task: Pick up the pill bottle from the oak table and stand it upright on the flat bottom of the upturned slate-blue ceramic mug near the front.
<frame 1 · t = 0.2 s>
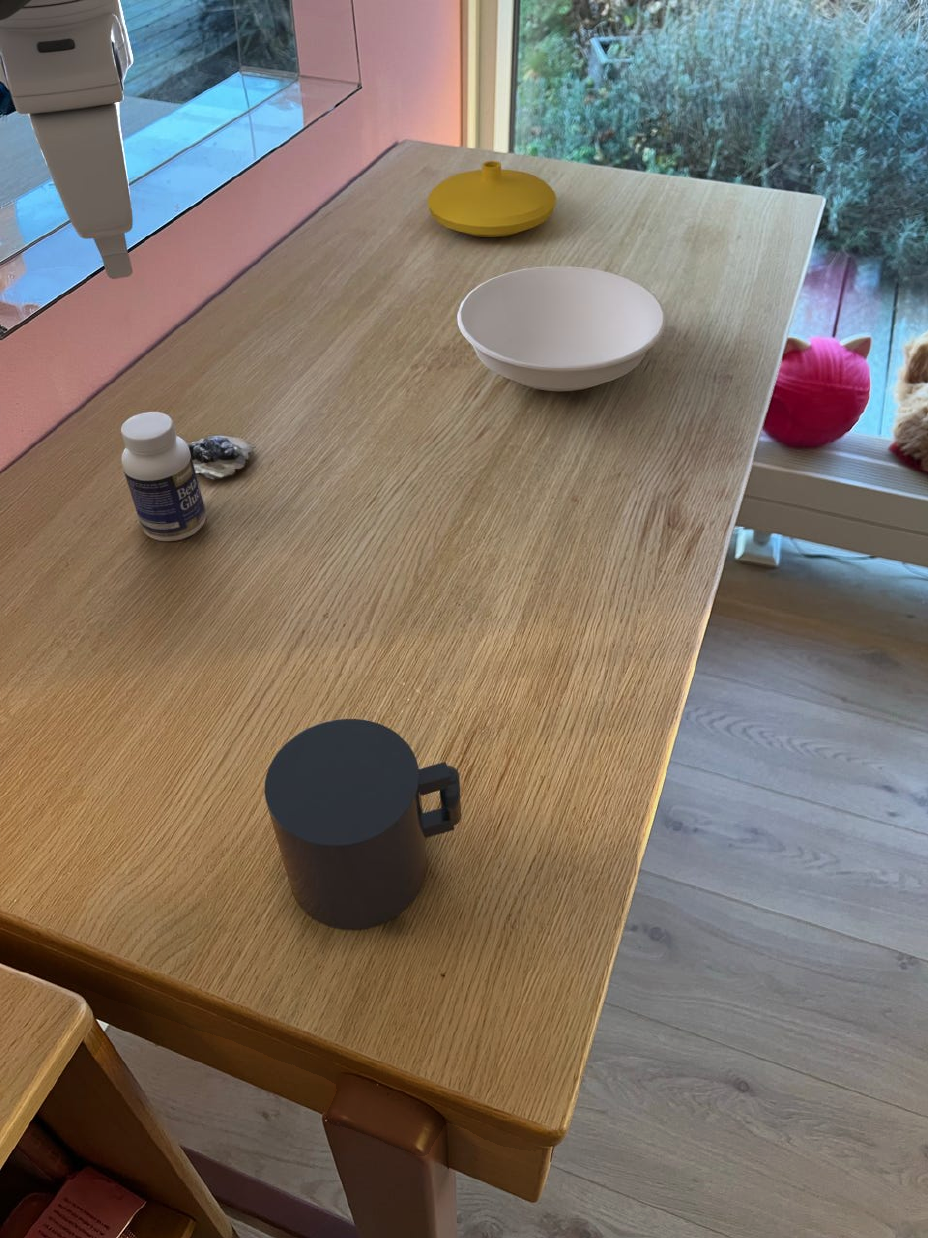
hand: (115, 246, 75), 21 cm above the table, tool pointing down, fingers open, 8 cm apart
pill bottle: (175, 524, 85), on the table
mug: (358, 866, 61), on the table
bowl: (558, 373, 100), on the table
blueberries: (210, 461, 91), on the table
vase: (492, 224, 124), on the table
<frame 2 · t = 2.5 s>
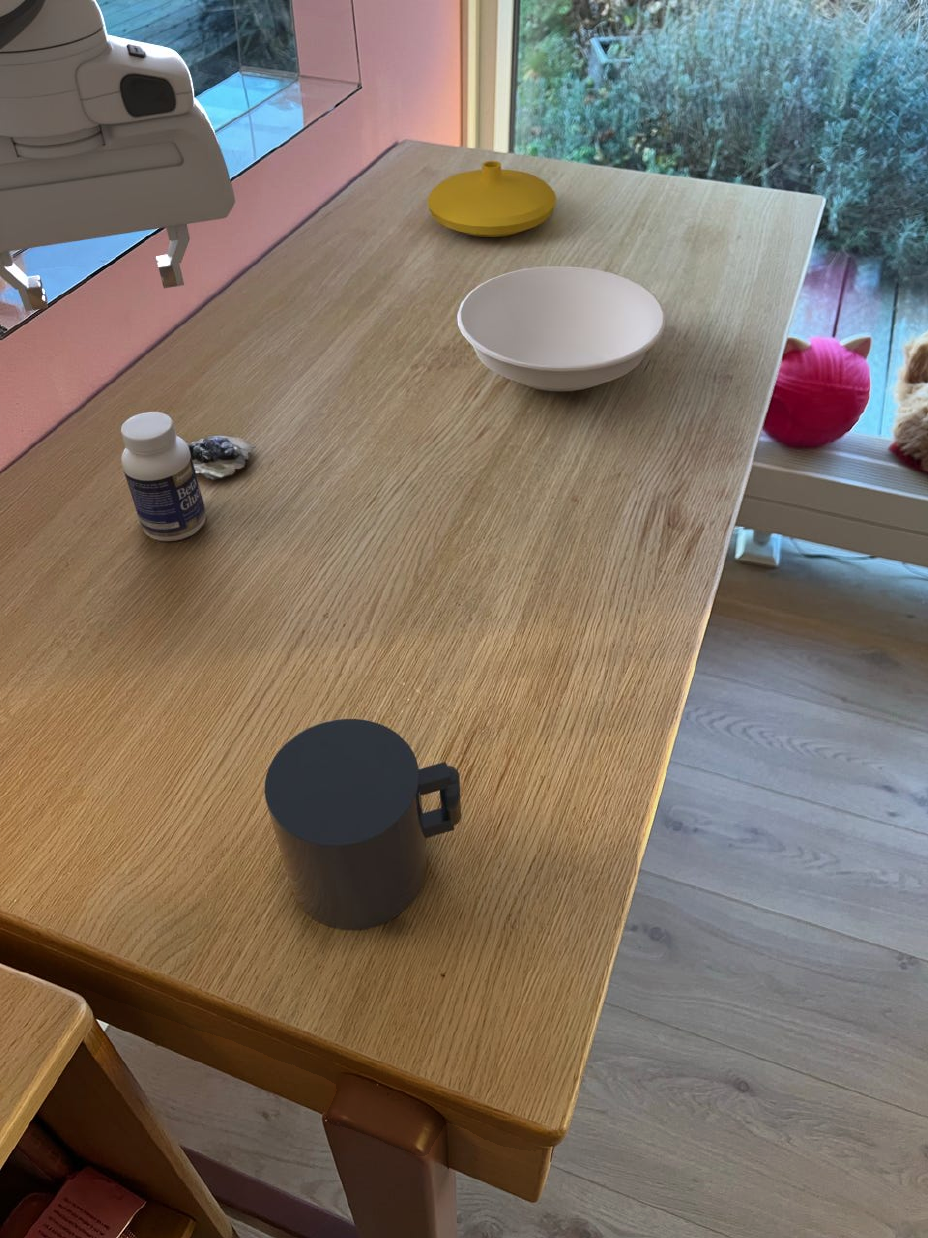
hand: (106, 294, 71), 20 cm above the table, tool pointing down, fingers open, 8 cm apart
nothing on the table moved.
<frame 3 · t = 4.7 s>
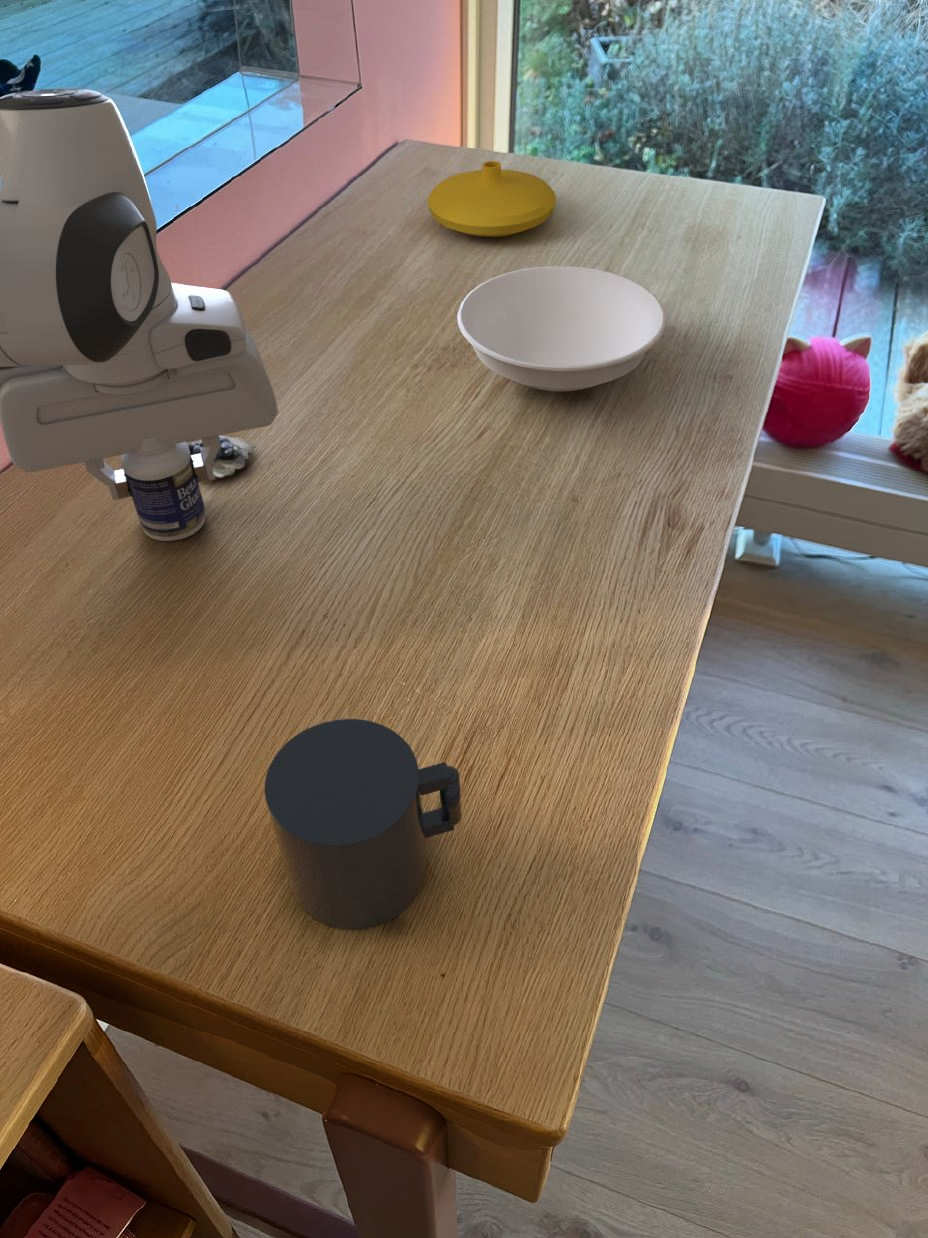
hand: (164, 485, 82), 4 cm above the table, tool pointing down, fingers closed on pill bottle, 5 cm apart
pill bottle: (175, 524, 85), on the table, touching gripper
everything else where it was.
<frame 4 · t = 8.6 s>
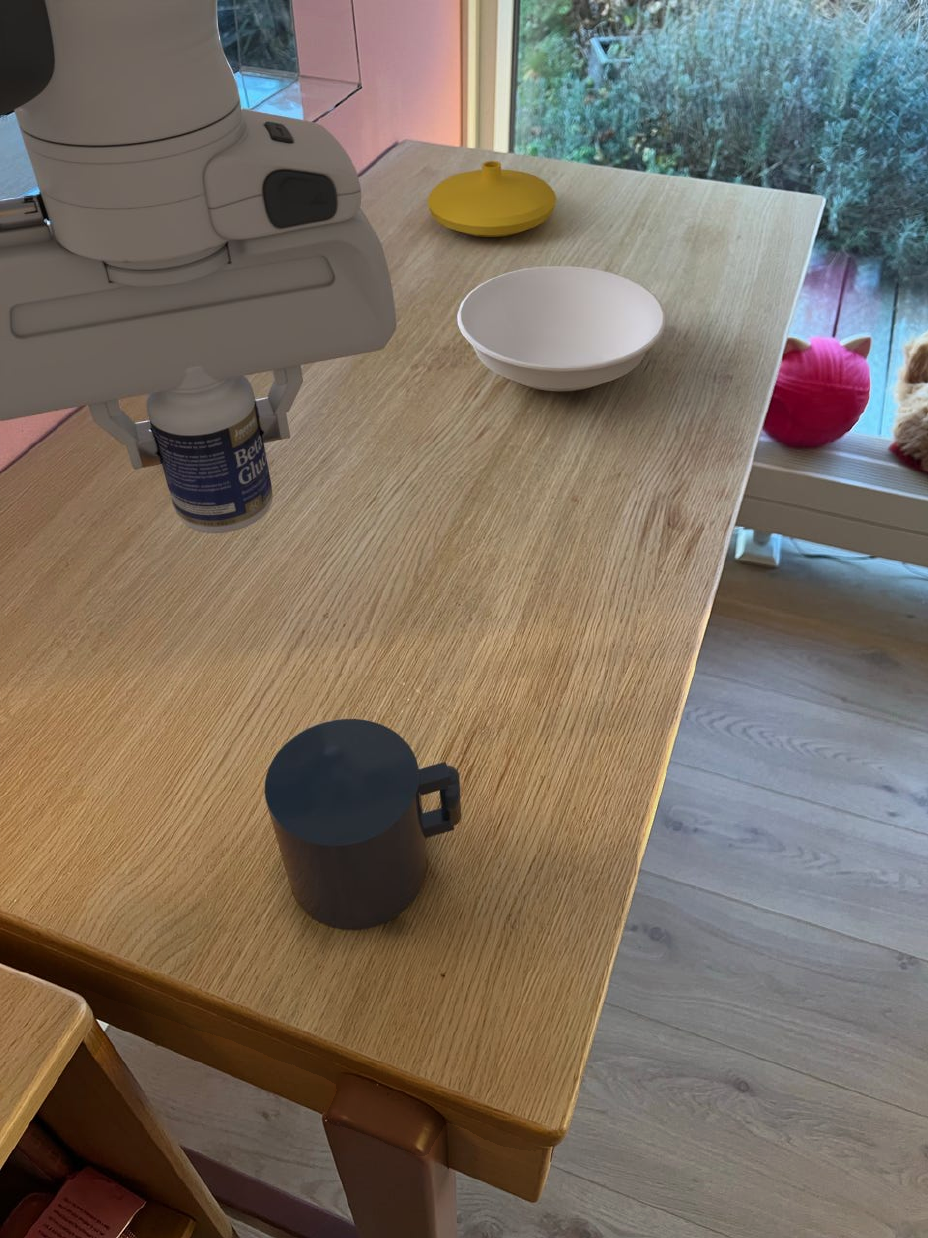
hand: (212, 447, 52), 23 cm above the table, tool pointing down, fingers closed on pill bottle, 5 cm apart
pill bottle: (226, 508, 55), point 19 cm above the table, touching gripper
everything else where it was.
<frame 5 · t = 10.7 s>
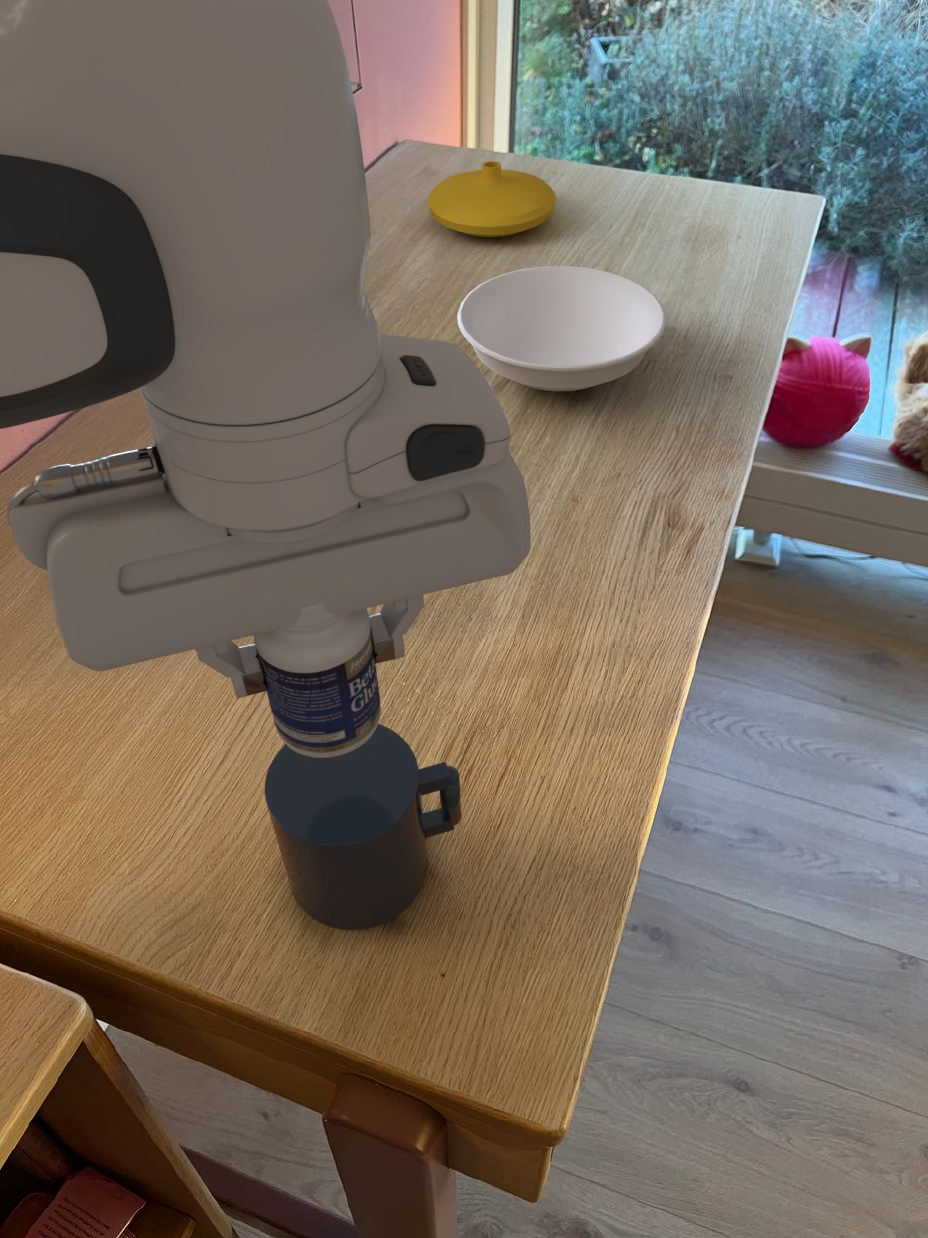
hand: (320, 668, 48), 18 cm above the table, tool pointing down, fingers closed on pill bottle, 5 cm apart
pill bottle: (330, 721, 51), point 14 cm above the table, touching gripper
everything else where it was.
when the fingers open (13 cm above the table, at t = 12.5 s): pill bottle stays where it is, resting on mug.
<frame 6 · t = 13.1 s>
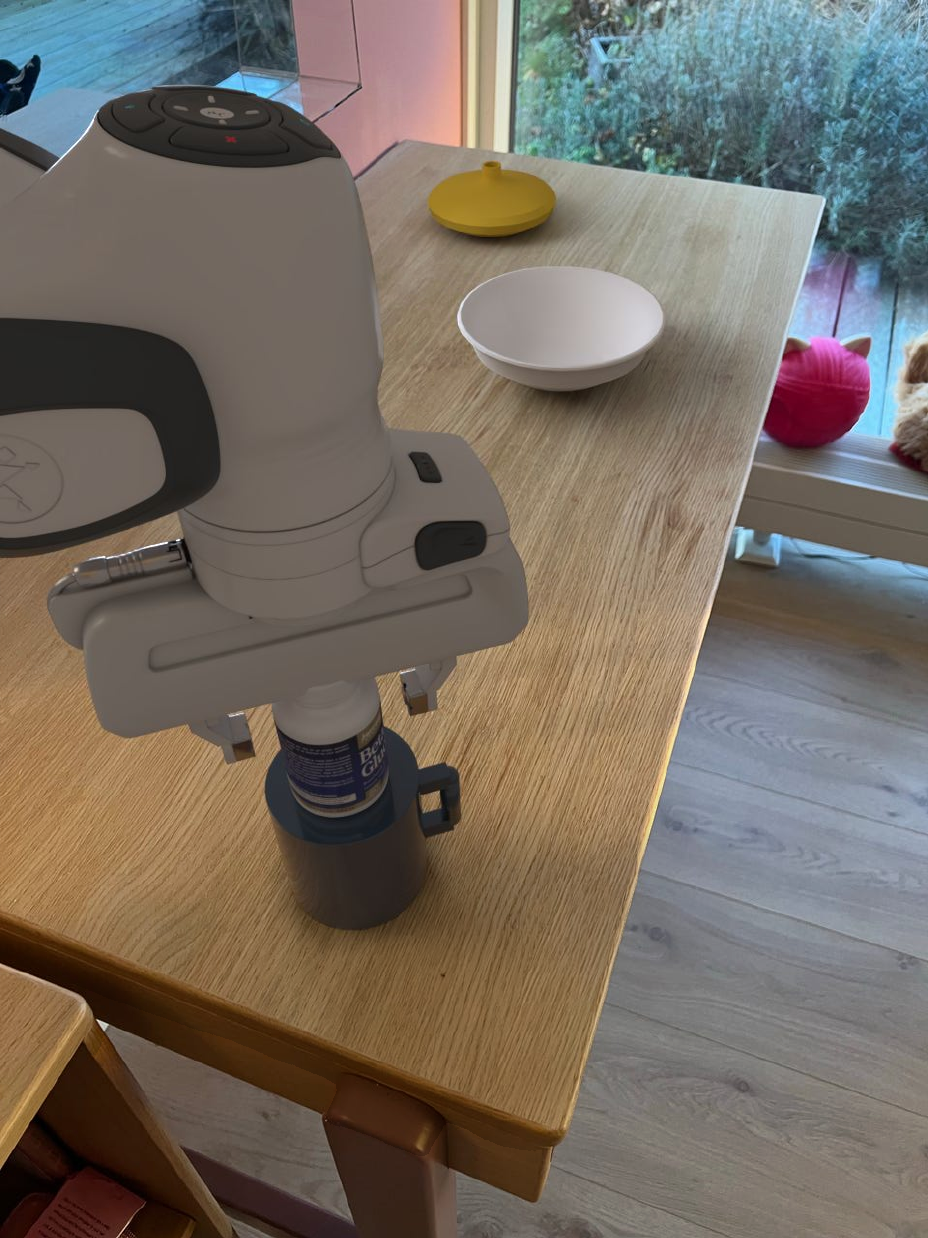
hand: (331, 727, 51), 13 cm above the table, tool pointing down, fingers open, 8 cm apart
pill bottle: (341, 781, 55), point 9 cm above the table, touching mug
mug: (358, 866, 61), on the table, touching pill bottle
everything else where it was.
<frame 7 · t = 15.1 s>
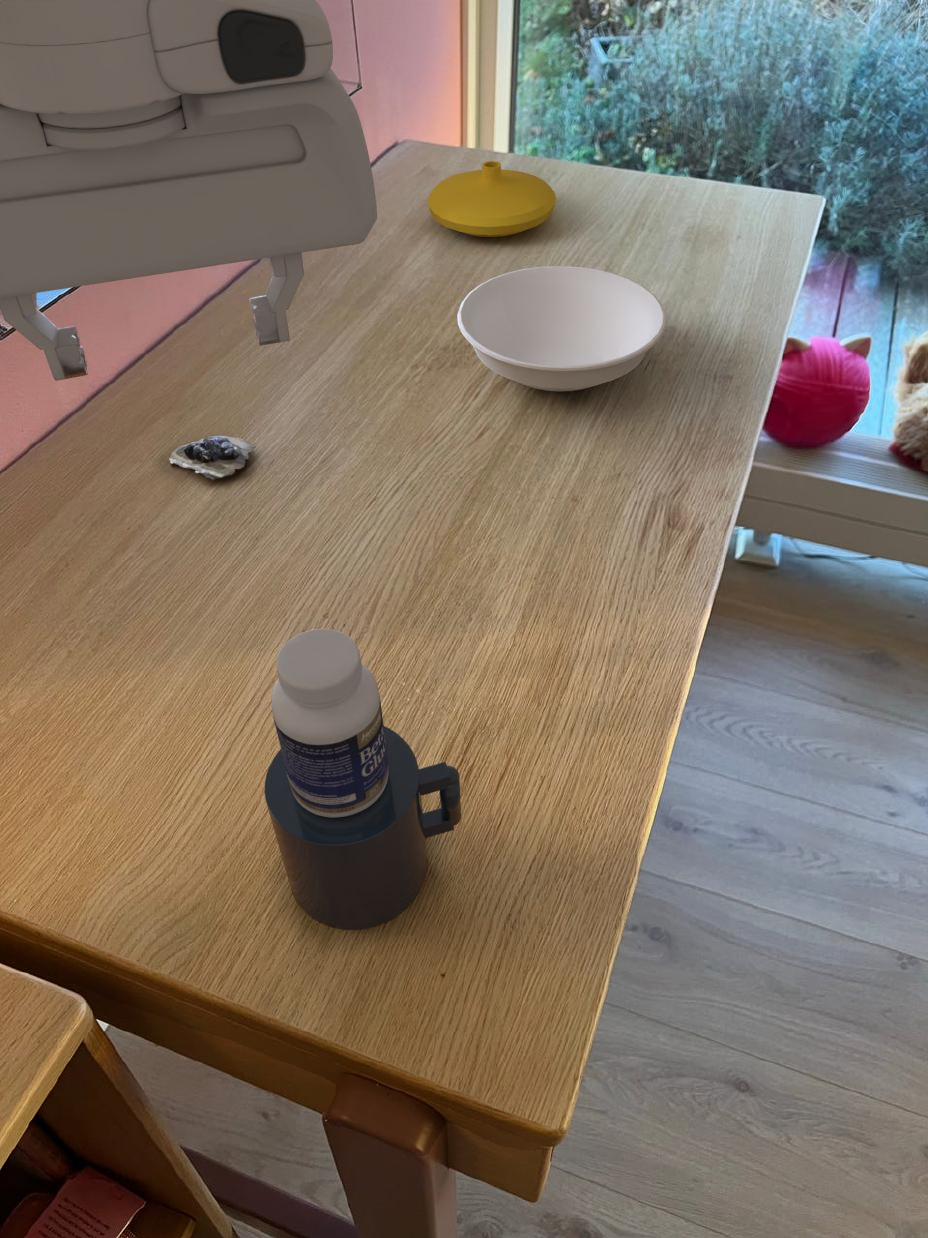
hand: (174, 354, 47), 29 cm above the table, tool pointing down, fingers open, 8 cm apart
nothing on the table moved.
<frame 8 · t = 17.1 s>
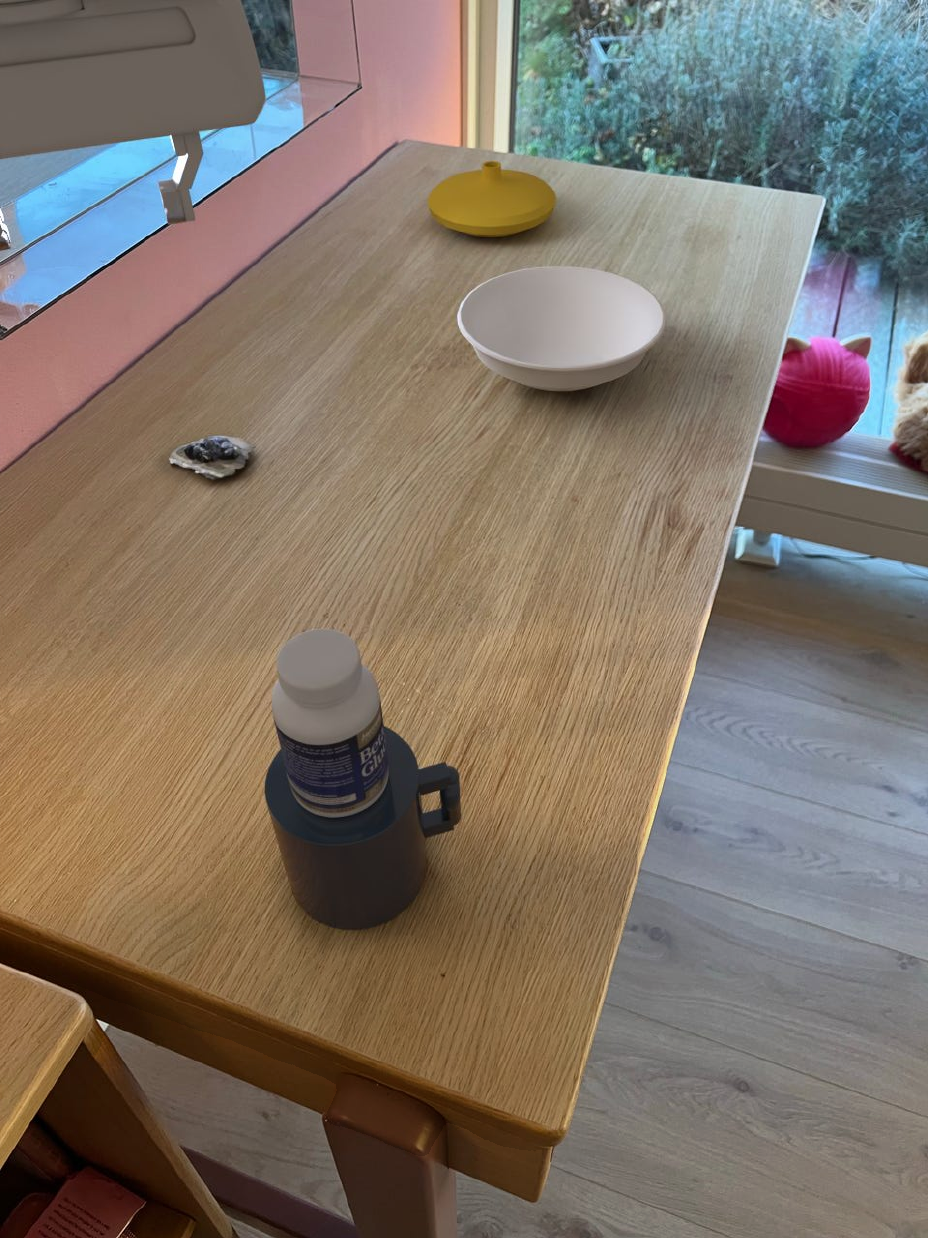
hand: (90, 233, 52), 31 cm above the table, tool pointing down, fingers open, 8 cm apart
nothing on the table moved.
at the end: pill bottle 0.1 cm off-centre on the mug, point 8.8 cm above the mug's base; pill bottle tilted 0°; the gripper is holding nothing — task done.
